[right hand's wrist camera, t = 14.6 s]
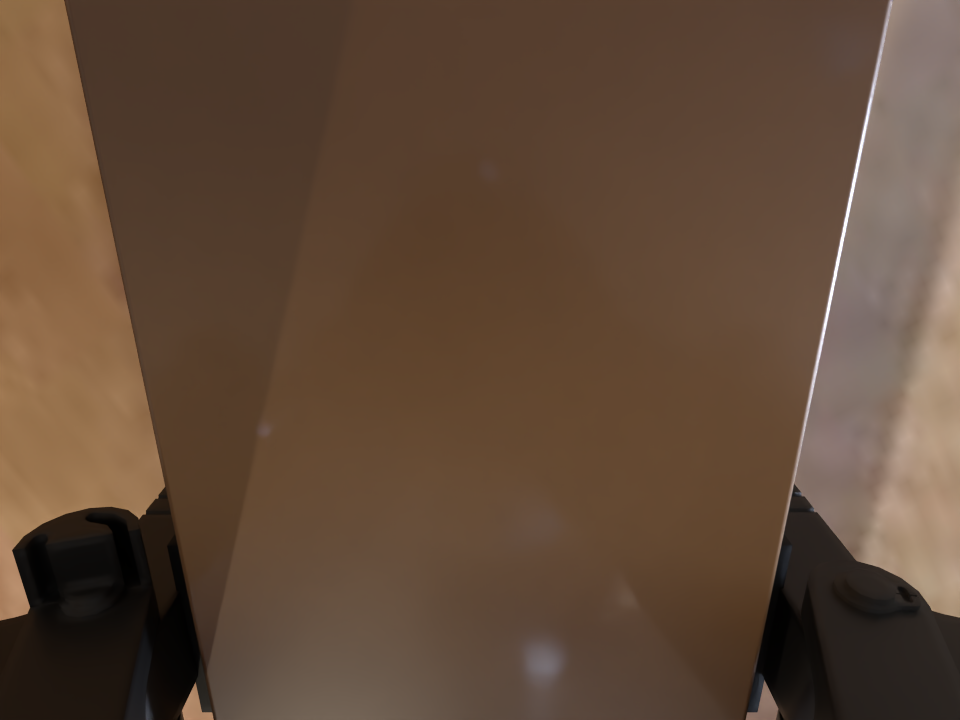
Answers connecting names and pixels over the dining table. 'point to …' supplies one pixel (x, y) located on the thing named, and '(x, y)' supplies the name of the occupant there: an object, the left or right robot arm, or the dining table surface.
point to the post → (479, 333)
